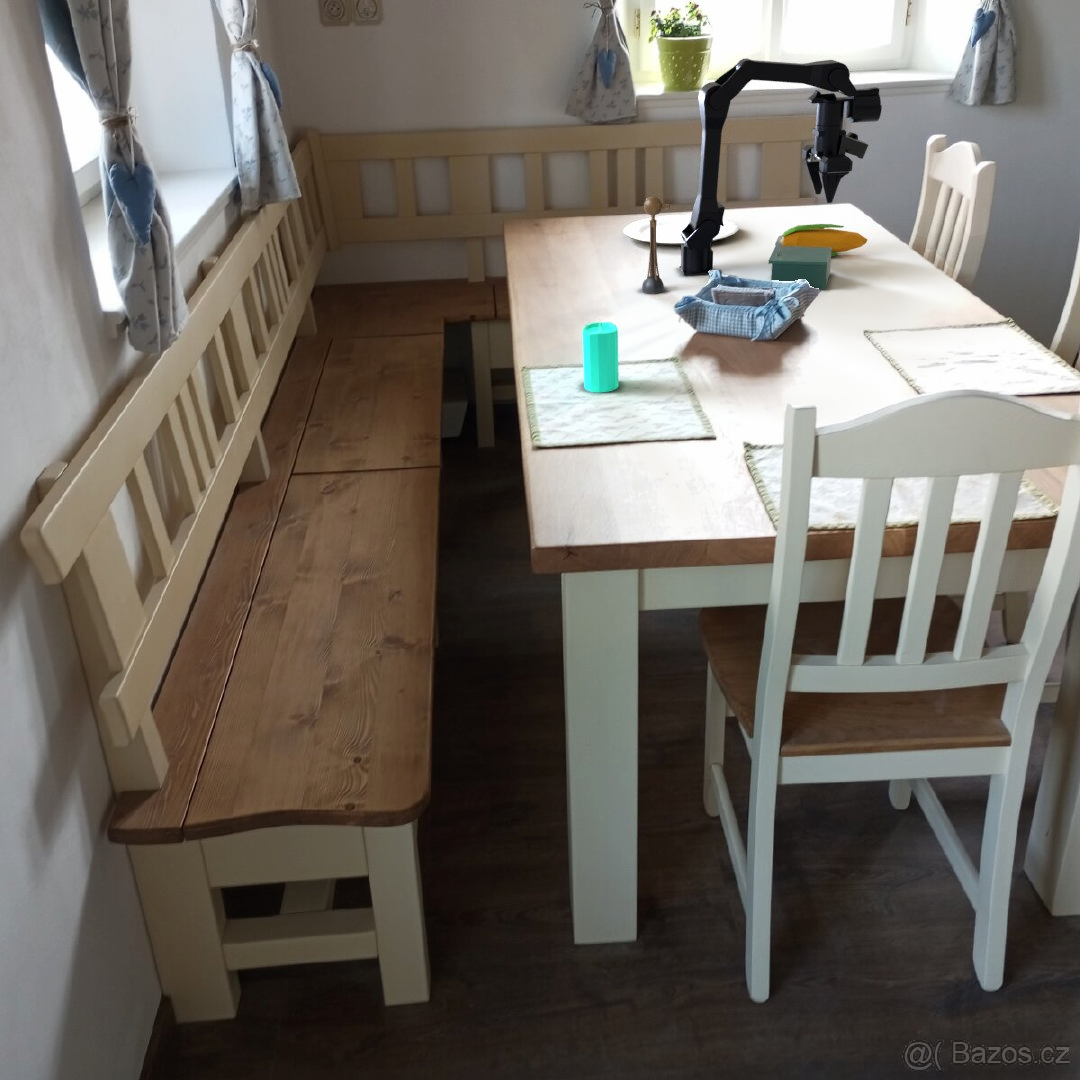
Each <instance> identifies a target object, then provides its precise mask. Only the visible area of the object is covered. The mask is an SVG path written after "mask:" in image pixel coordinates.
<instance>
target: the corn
mask: <svg viewBox="0 0 1080 1080" xmlns="http://www.w3.org/2000/svg"><path fill="white" fill-rule="evenodd" d="M834 228H835V229H834ZM840 228H845V226H844V225H841V224H834V223H833V224H832V223H816V224H815V223H814V224H813V223H812V224H799V225H796V226H793V227H790V228H789V229H786V230H785V231H784V232H783V234H781V236H783V237H784V241H783V243H782V246H797V247H832V252H831V257H835V256H838V255H839V254H838V253H843V252H848V251H851V250H855V249H859V248H861V247H863V246H864V245H865V244H867V243H868V239H867V238H866V237H864V236H863V235H862V234H860V233H859V232H856V231H847V230H841V229H840Z"/></svg>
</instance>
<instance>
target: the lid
mask: <svg viewBox="0 0 1080 1080" xmlns="http://www.w3.org/2000/svg"><path fill="white" fill-rule="evenodd" d="M783 241H784V237H783V236H782V235H779V236H778V237H777V239H776V241H775V243H774V248H773V250H772V252H771V255H770V257H769V259H768V261H767V262H768V265H772V264H794V265H825V266H827V264H828V260H829V257H830V254H831V251H832V247H797V246H782V243H783Z"/></svg>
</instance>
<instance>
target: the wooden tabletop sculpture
mask: <svg viewBox="0 0 1080 1080" xmlns="http://www.w3.org/2000/svg"><path fill="white" fill-rule="evenodd" d="M643 209H644V212H645V213H646V214H647V215H649V216H650V218H651V220H649V221H650V243H649V256H648V257H649V258H648V267H647V275H646V277H645V278H644V280H643V281H642V285H641V291H642V293H645V294H648V295H649V294H652V295H655V294H662V293H663V292H664V291H665V284H664V282H663V280H662V278H661V277H660V273H659V264H658V251H657V244H656V221H657V220H655V217H656V216H657V215H659V214H660V213H661V212H662V211H663V210H670V209H671V204H670V203H663V202H662V200H661V199H660V198H659V197H657V196H649V197H648V198H646V199H645V200H644V203H643Z"/></svg>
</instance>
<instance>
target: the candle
mask: <svg viewBox="0 0 1080 1080" xmlns="http://www.w3.org/2000/svg"><path fill="white" fill-rule="evenodd" d="M598 320H599V322H590V323H588V324H586V325H584V327H583V328H582V354H583V356H582V357H583V387H584V389H585V390H586V391H589V392H592V393H600V394H601V393H609V392H612V391H615V390H617V389H618V388H619V385H620V384H619V383H620V382H619V380H620V379H619V329H618V326H617V325H616V324H615V323H612V322H611V321H604V322H603V321H601V318H599V319H598Z"/></svg>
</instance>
